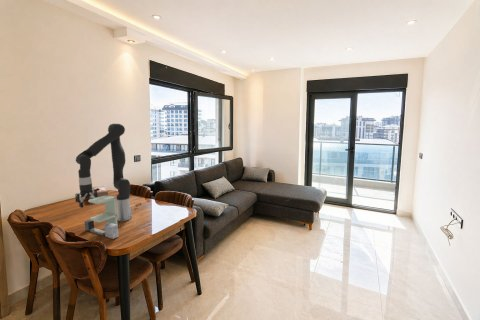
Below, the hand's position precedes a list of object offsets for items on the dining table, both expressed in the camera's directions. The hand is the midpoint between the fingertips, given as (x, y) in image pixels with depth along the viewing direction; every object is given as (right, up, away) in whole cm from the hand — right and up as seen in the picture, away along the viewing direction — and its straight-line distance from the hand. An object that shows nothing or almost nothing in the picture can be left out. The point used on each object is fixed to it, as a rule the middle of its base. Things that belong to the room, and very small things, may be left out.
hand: (87, 205), depth 176 cm
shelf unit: (+13, -19, -2) cm, 23 cm away
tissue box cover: (-35, -7, +76) cm, 84 cm away
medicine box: (+21, -20, -8) cm, 30 cm away
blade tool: (+6, -18, 0) cm, 20 cm away
